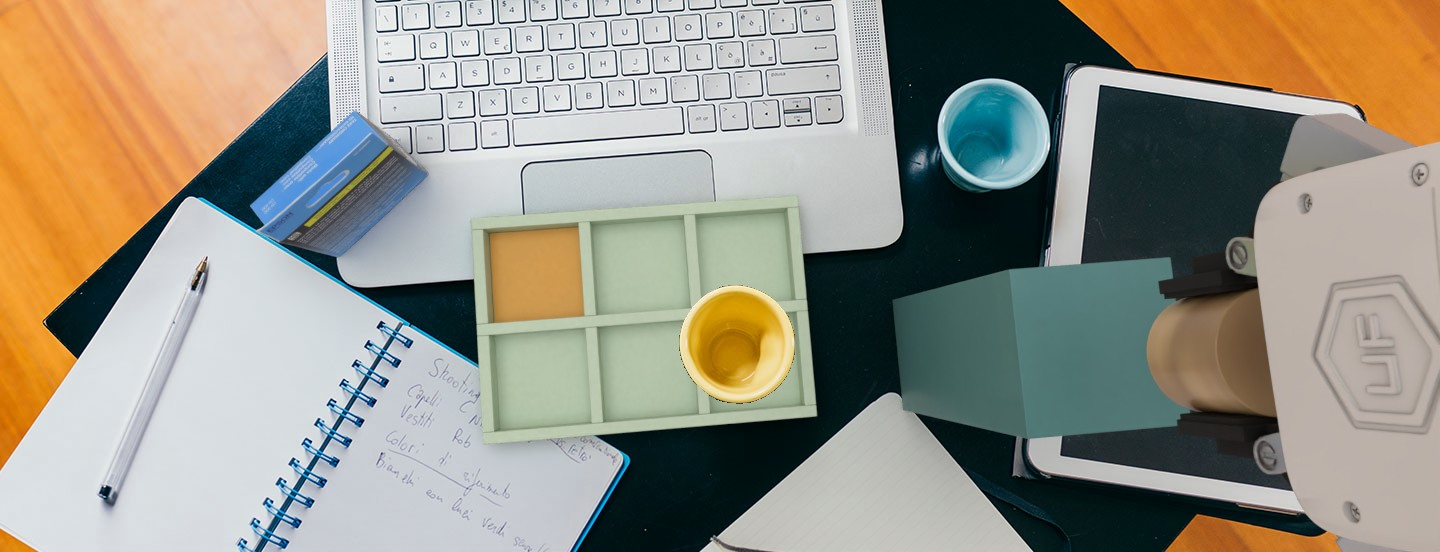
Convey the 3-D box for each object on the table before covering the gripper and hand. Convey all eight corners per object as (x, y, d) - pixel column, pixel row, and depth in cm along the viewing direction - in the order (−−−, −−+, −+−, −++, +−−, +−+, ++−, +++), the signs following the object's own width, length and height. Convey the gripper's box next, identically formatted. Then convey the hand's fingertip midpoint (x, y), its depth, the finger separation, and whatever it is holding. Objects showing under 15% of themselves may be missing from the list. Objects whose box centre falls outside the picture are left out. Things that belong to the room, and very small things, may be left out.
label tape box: (395, 137, 62) (326, 83, 50) (434, 177, 62) (375, 133, 50) (302, 222, 61) (209, 188, 49) (342, 263, 61) (259, 239, 49)
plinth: (1011, 401, 63) (1192, 424, 41) (902, 410, 62) (1027, 439, 40) (999, 291, 63) (1170, 257, 41) (892, 299, 63) (1008, 269, 41)
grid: (811, 413, 62) (817, 416, 59) (490, 441, 60) (482, 444, 58) (792, 202, 63) (797, 195, 61) (479, 224, 62) (470, 218, 59)
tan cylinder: (1265, 406, 33) (1352, 412, 29) (1153, 416, 32) (1225, 423, 28) (1248, 291, 33) (1331, 280, 29) (1138, 300, 33) (1206, 290, 29)
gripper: (1573, -129, 15) (1081, 142, 33) (1769, 893, 13) (1137, 592, 32) (1957, -146, 16) (1266, 130, 34) (2194, 837, 14) (1332, 572, 32)
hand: (1207, 353), depth 32 cm, fingers closed on tan cylinder, 4 cm apart
